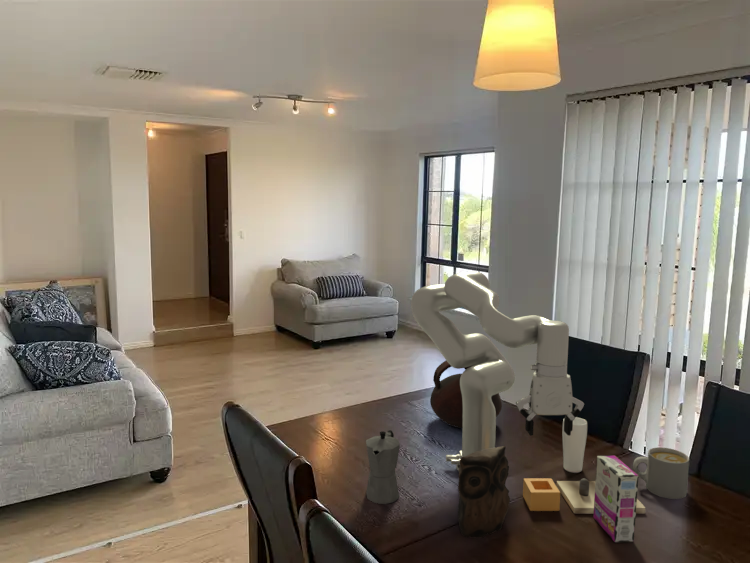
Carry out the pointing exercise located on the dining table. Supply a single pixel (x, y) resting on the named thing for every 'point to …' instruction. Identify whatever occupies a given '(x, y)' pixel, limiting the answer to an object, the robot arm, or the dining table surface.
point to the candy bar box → (615, 498)
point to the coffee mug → (665, 472)
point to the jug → (452, 397)
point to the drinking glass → (574, 446)
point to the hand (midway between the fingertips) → (548, 433)
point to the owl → (483, 492)
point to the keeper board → (583, 496)
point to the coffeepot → (382, 468)
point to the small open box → (541, 494)
